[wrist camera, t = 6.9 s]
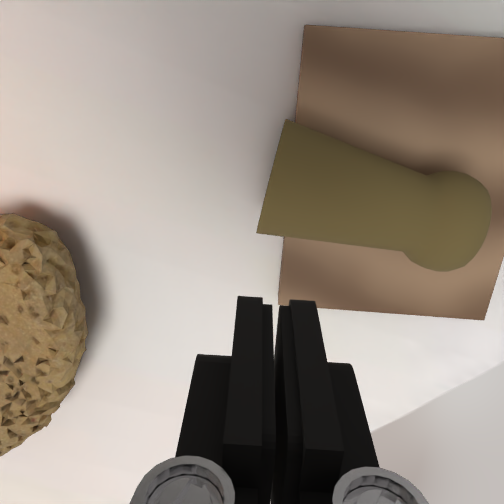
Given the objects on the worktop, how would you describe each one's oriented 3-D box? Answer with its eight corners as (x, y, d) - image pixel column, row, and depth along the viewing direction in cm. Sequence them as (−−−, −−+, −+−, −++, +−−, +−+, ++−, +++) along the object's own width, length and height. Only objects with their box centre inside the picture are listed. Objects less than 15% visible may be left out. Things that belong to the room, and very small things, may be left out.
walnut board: (304, 26, 24) (305, 24, 23) (555, 42, 24) (569, 42, 23) (278, 295, 31) (278, 304, 29) (476, 310, 30) (484, 320, 29)
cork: (252, 244, 22) (478, 303, 22) (285, 116, 20) (528, 178, 20) (259, 222, 28) (438, 268, 28) (286, 120, 26) (474, 168, 26)
